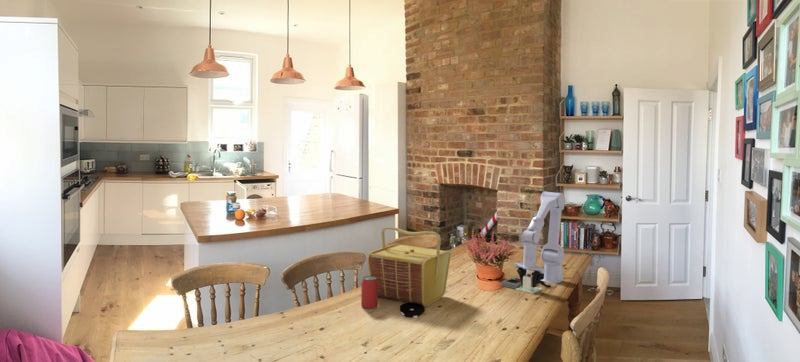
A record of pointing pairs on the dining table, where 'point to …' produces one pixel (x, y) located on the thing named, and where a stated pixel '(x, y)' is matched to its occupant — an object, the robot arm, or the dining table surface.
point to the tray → (528, 291)
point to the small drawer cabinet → (512, 282)
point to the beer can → (369, 292)
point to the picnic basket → (410, 270)
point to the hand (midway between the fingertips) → (528, 285)
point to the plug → (528, 283)
